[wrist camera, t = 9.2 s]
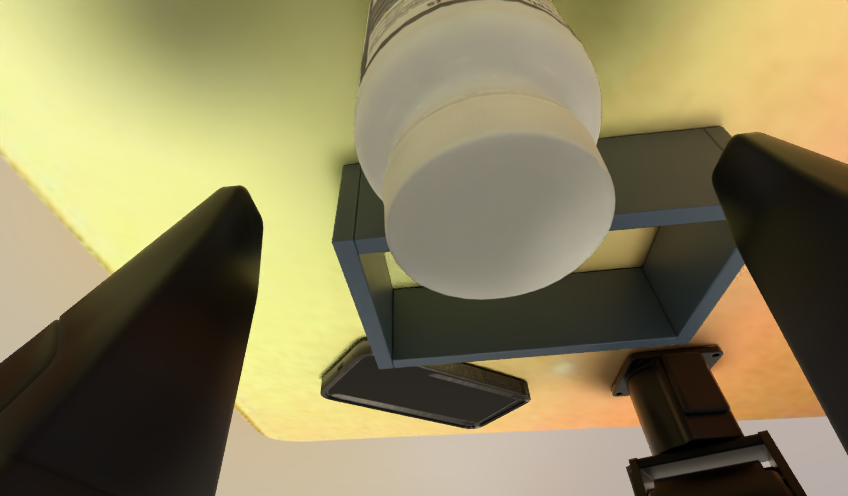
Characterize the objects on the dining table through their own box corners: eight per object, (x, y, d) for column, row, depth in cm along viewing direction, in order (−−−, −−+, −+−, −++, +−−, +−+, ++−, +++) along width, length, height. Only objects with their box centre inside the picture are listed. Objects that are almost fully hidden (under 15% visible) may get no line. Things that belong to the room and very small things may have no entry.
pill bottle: (509, 105, 16) (585, 324, 10) (367, 93, 16) (343, 318, 9) (556, -67, 12) (740, 102, 6) (369, -91, 12) (330, 66, 5)
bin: (652, 274, 24) (688, 344, 21) (381, 298, 25) (378, 369, 22) (722, 125, 17) (792, 197, 14) (342, 164, 18) (331, 241, 15)
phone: (475, 430, 38) (315, 397, 31) (473, 417, 39) (317, 382, 32) (537, 397, 33) (364, 349, 27) (534, 383, 34) (365, 334, 27)
